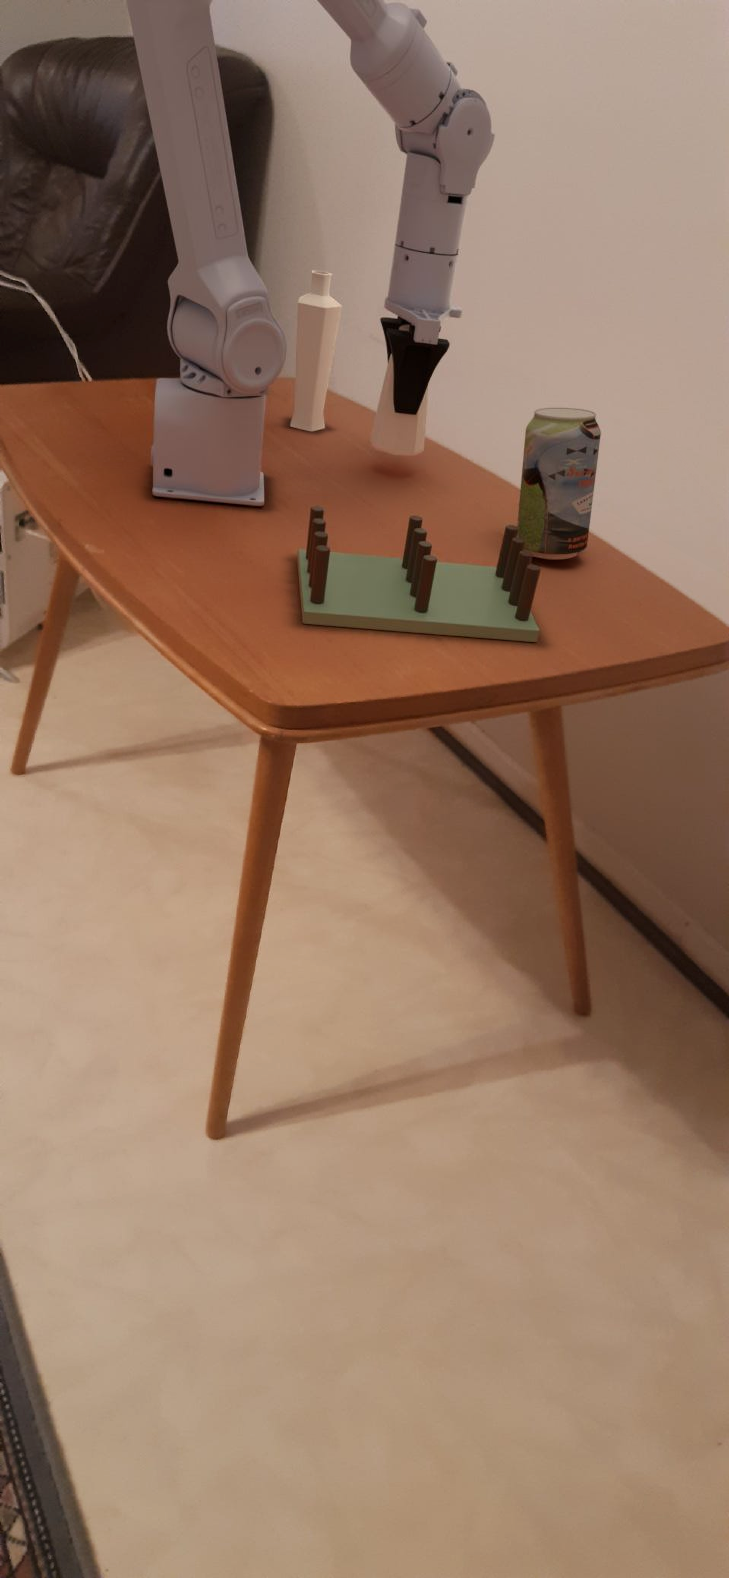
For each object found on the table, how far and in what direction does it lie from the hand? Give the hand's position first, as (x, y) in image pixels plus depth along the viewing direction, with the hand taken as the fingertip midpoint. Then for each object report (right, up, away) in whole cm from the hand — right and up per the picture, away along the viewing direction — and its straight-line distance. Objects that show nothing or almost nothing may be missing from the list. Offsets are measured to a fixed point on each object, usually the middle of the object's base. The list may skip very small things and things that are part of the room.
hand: (402, 406), depth 98 cm
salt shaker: (-1, -3, +2) cm, 4 cm away
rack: (0, -22, -21) cm, 31 cm away
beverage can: (+12, -16, -9) cm, 22 cm away
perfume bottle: (-10, +2, +12) cm, 16 cm away
